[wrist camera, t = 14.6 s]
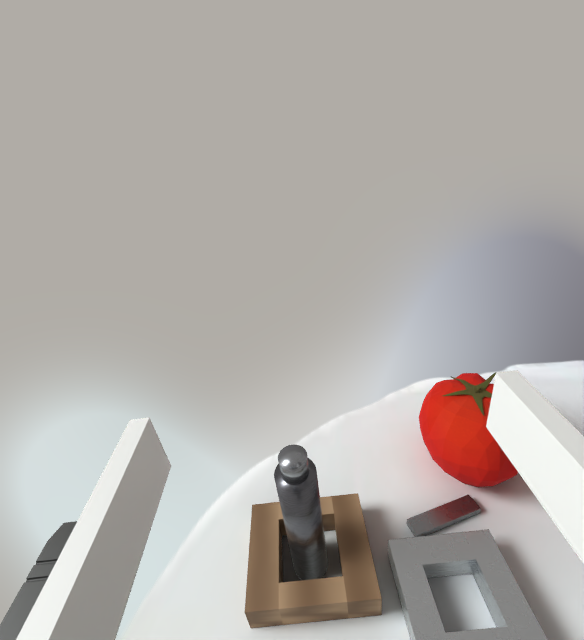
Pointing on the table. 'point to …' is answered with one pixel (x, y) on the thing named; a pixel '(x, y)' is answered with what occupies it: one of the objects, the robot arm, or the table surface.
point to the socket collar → (456, 559)
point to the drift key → (443, 516)
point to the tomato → (464, 431)
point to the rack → (316, 594)
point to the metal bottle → (301, 512)
